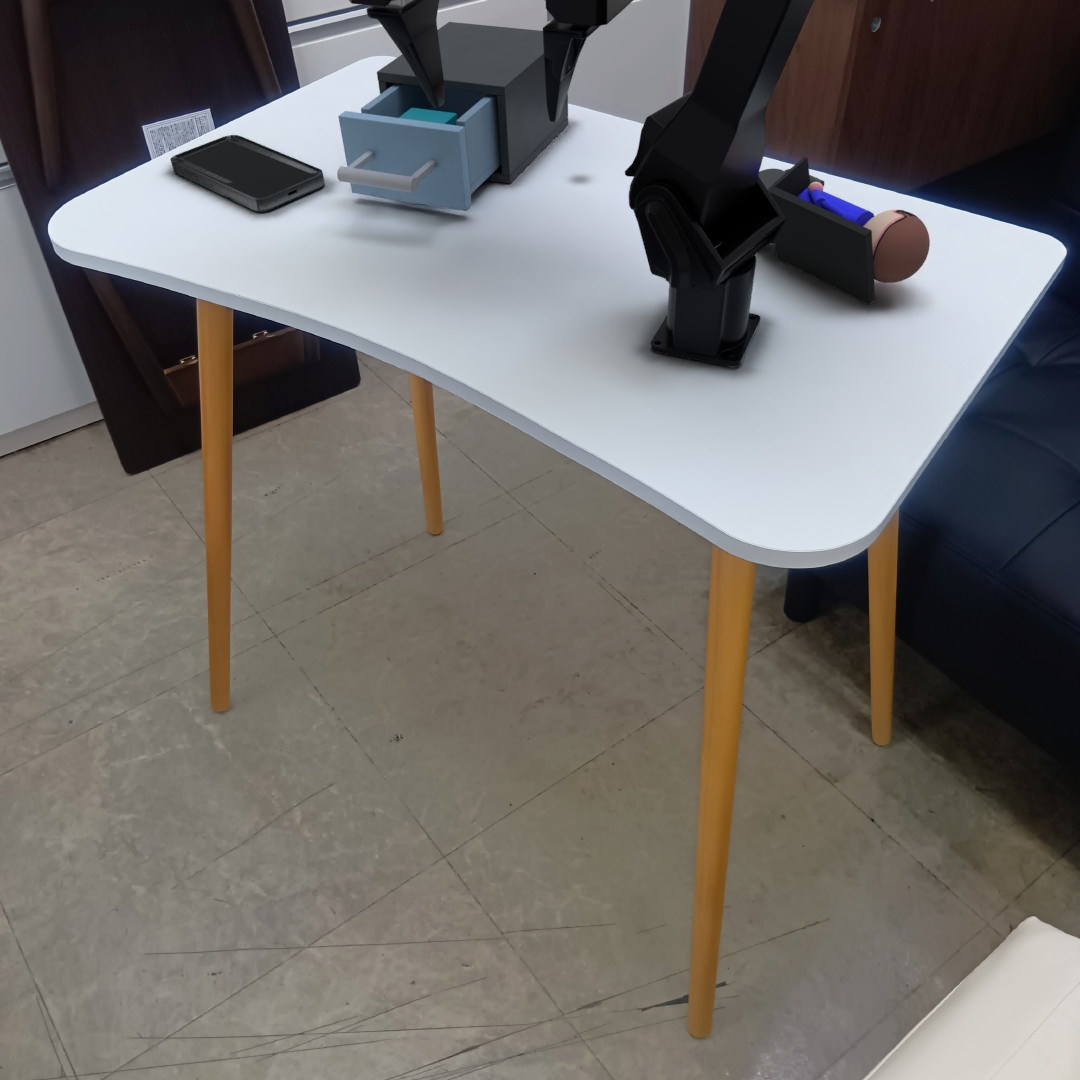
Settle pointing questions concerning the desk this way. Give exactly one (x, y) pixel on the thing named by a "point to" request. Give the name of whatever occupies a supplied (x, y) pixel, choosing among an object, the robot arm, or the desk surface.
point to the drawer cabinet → (496, 85)
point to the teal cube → (430, 116)
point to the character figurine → (842, 235)
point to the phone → (248, 172)
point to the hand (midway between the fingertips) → (495, 112)
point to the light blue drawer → (421, 147)
